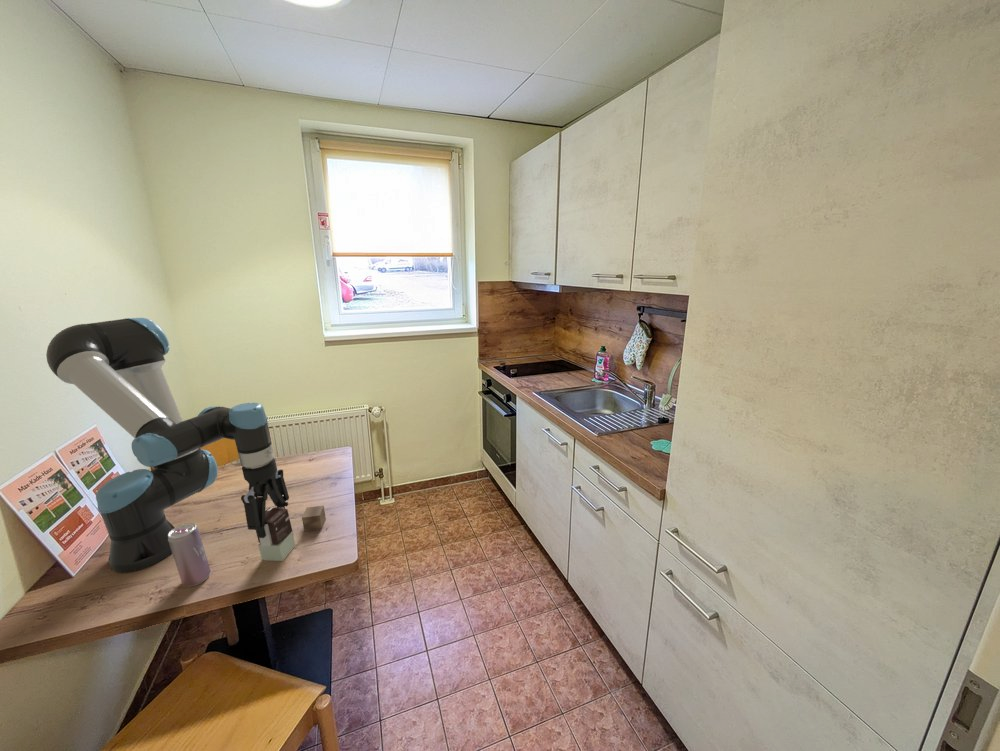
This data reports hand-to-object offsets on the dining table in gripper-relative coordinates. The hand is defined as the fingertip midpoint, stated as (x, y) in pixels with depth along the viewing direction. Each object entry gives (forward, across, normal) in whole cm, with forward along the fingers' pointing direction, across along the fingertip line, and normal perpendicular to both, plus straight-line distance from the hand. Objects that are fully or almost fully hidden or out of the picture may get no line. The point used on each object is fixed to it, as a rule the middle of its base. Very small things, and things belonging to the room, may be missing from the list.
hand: (275, 535), depth 107 cm
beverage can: (+6, -10, +16) cm, 20 cm away
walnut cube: (+6, +12, -4) cm, 14 cm away
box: (+1, 0, 0) cm, 1 cm away
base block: (+6, 0, 0) cm, 6 cm away
